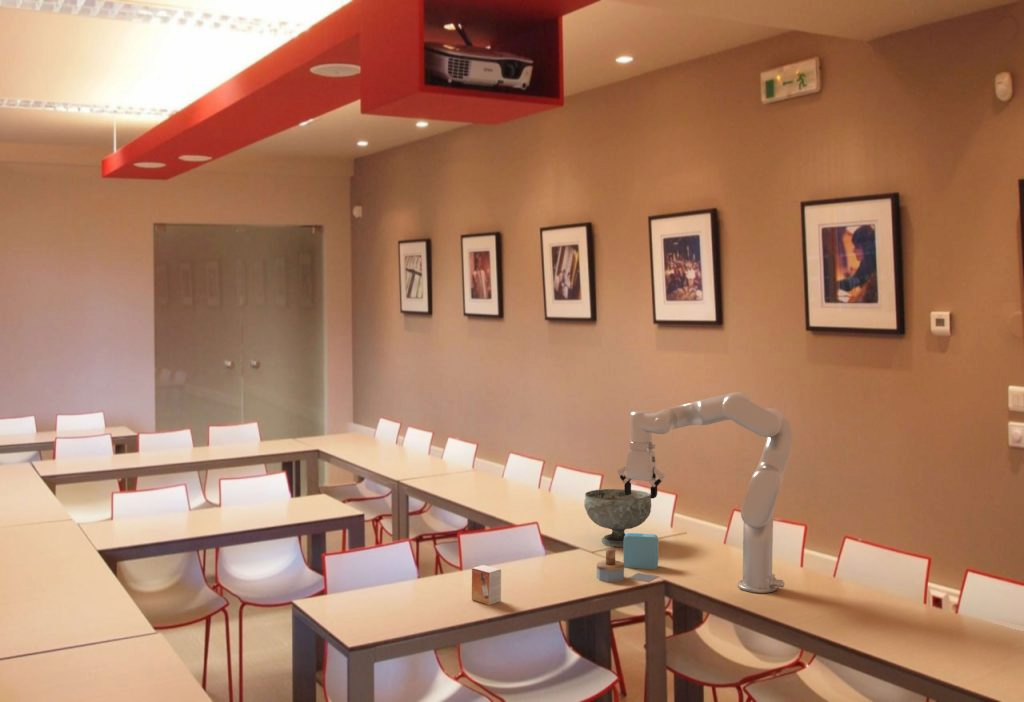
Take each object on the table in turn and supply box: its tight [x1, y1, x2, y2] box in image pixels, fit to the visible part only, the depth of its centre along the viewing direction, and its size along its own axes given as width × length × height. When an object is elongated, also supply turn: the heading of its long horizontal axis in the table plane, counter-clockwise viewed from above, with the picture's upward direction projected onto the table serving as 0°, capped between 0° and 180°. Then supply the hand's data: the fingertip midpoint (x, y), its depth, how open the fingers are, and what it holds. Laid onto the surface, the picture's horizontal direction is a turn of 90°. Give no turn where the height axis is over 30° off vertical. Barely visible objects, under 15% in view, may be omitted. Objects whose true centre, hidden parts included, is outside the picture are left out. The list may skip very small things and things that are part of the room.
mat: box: [627, 572, 660, 583], centre depth 336 cm, size 8×8×1 cm
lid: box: [596, 547, 626, 571], centre depth 335 cm, size 10×10×6 cm
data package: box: [622, 532, 659, 570], centre depth 350 cm, size 12×4×12 cm, turn 79°
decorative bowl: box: [583, 488, 652, 548], centre depth 386 cm, size 26×26×20 cm
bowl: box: [596, 567, 625, 583], centre depth 335 cm, size 9×9×4 cm
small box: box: [471, 564, 502, 606], centre depth 313 cm, size 8×6×10 cm
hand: (640, 496), depth 337 cm, fingers open, 9 cm apart
